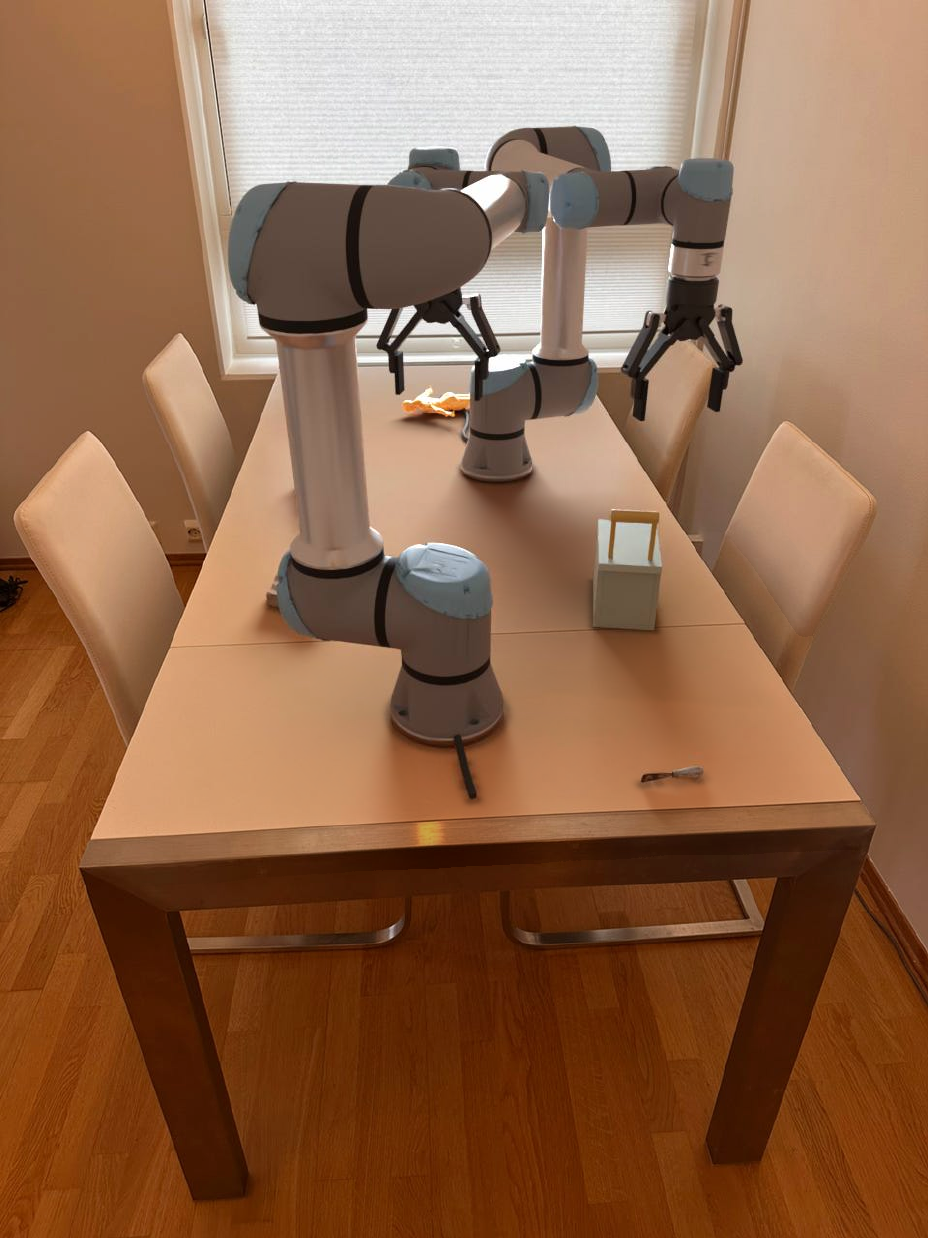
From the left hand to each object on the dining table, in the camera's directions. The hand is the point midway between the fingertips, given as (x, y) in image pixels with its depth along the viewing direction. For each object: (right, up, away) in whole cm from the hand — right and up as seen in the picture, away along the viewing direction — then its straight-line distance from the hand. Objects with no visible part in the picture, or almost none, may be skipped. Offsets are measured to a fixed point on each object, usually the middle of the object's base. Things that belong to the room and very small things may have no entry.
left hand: (438, 395), depth 149 cm
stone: (-22, -35, -3) cm, 41 cm away
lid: (+30, -26, -10) cm, 41 cm away
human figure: (+1, +16, +77) cm, 79 cm away
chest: (+30, -35, -4) cm, 46 cm away
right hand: (+38, -4, -5) cm, 39 cm away
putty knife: (+30, -57, -39) cm, 75 cm away
